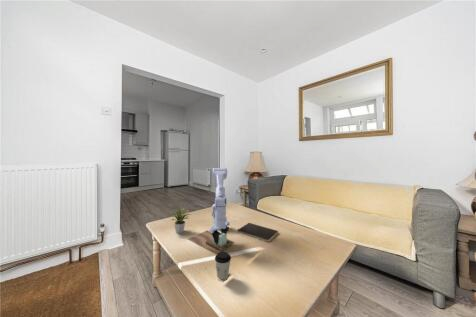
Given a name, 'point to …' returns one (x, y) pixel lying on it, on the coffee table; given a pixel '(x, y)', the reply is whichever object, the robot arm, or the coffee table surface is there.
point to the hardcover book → (258, 232)
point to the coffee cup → (222, 265)
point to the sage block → (221, 240)
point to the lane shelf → (209, 242)
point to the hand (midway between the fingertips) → (219, 241)
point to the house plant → (180, 221)
